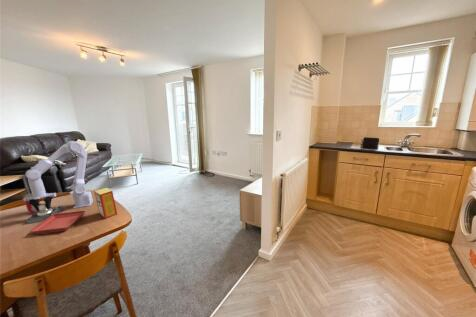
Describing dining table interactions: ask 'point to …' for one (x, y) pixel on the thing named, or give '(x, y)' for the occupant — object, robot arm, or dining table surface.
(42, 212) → the end cover
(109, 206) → the baking soda box
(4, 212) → the dining table surface
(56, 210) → the bore housing
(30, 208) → the beverage can
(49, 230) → the plant saucer
